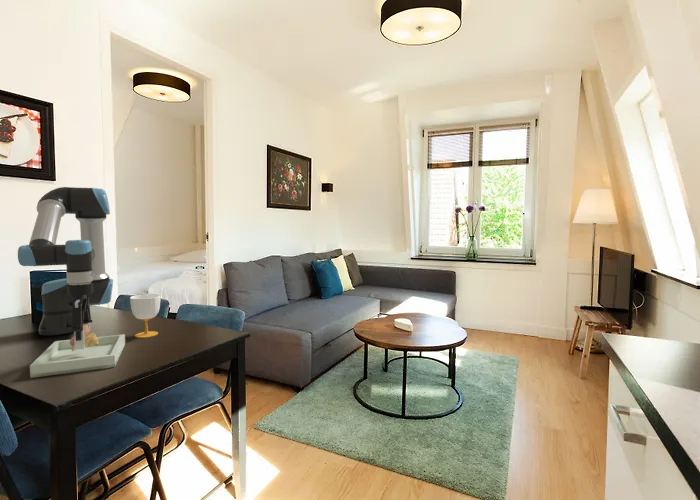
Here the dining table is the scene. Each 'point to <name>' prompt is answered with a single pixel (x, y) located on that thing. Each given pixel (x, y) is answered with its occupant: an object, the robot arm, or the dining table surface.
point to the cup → (145, 310)
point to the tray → (78, 357)
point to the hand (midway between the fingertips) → (83, 344)
